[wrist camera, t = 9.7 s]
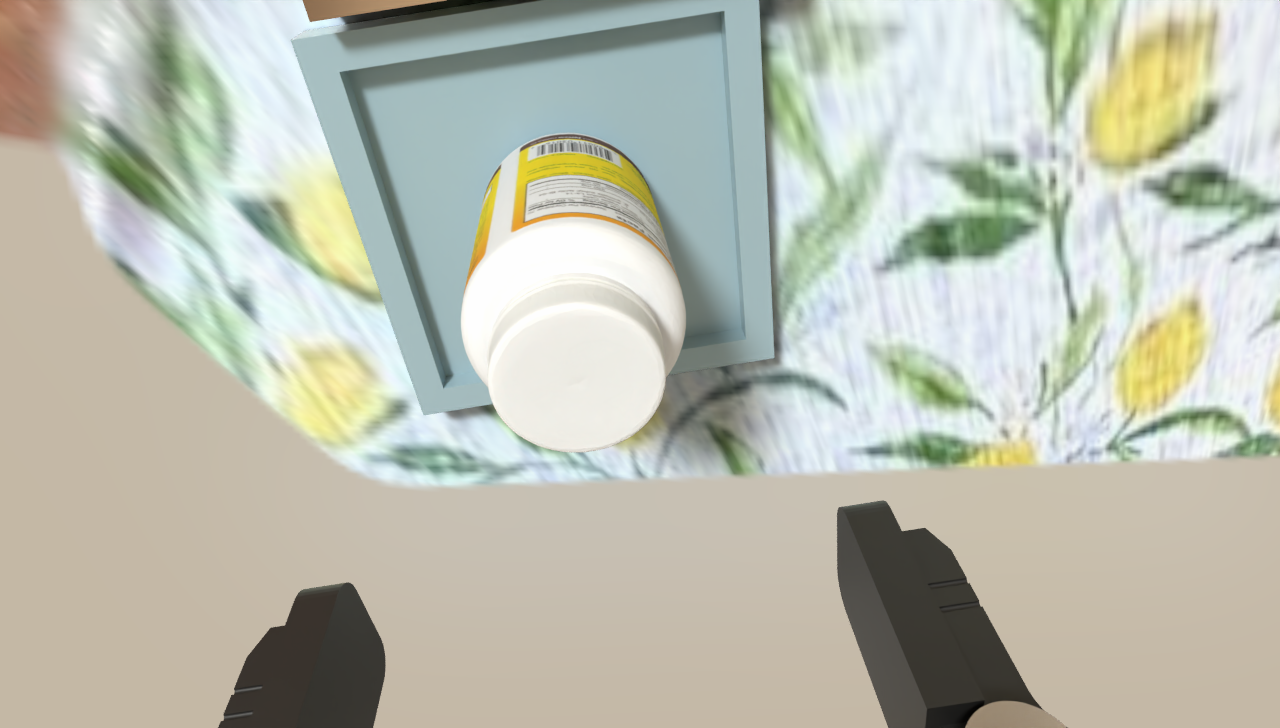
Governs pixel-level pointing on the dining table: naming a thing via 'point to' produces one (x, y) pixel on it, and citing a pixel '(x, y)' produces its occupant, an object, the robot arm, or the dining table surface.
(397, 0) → the frame
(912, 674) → the robot arm
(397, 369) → the dining table surface
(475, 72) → the tray
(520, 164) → the supplement bottle
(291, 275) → the dining table surface
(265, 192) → the dining table surface
